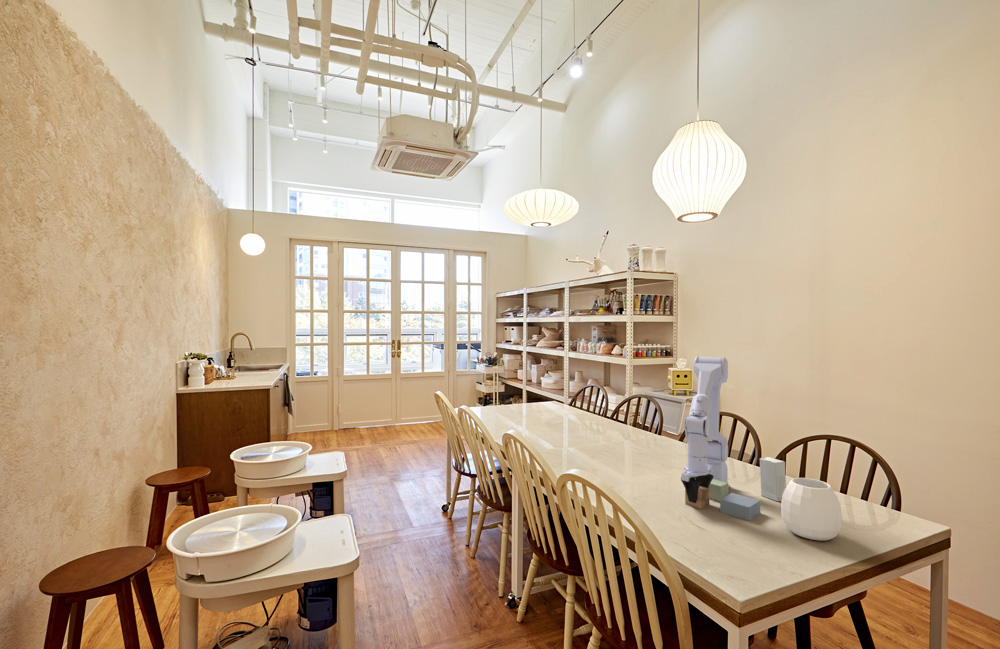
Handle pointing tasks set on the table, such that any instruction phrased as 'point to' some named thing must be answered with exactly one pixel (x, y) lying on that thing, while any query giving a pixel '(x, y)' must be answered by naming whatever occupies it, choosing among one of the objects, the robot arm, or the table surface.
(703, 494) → the walnut cube
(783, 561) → the table surface
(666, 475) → the table surface
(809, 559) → the table surface
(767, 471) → the skincare box
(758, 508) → the slate block
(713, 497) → the olive cube
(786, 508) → the white round vase
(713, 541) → the table surface
